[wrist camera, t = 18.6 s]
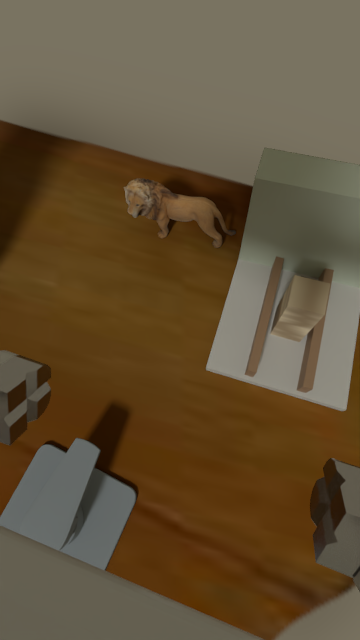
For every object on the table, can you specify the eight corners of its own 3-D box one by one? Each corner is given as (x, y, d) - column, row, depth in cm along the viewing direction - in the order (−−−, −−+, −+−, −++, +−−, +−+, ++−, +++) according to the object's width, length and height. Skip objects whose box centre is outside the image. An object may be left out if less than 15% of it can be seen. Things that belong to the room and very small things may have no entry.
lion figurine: (131, 244, 47) (117, 199, 39) (137, 214, 49) (124, 165, 40) (234, 250, 46) (242, 205, 37) (236, 219, 47) (243, 170, 39)
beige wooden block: (270, 334, 39) (287, 305, 32) (276, 305, 41) (295, 271, 33) (299, 342, 39) (324, 314, 31) (305, 313, 40) (330, 280, 32)
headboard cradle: (205, 369, 39) (209, 326, 25) (245, 237, 46) (265, 143, 32) (341, 411, 37) (429, 387, 23) (362, 264, 44) (441, 175, 29)
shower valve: (143, 470, 31) (60, 654, 26) (151, 467, 36) (83, 621, 32) (37, 415, 34) (-56, 574, 29) (58, 419, 39) (-18, 556, 34)
